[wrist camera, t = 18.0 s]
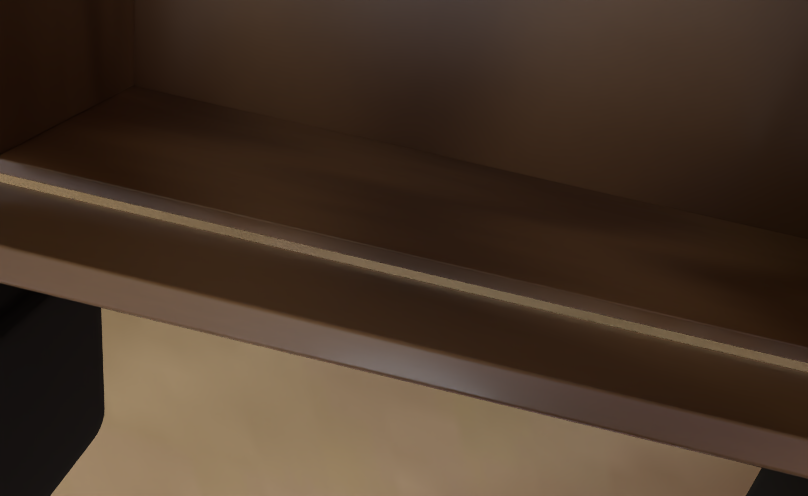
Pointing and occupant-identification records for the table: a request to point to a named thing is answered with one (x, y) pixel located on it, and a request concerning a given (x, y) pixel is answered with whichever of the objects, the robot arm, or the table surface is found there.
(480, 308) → the flap
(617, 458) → the table surface
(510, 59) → the wooden box
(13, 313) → the robot arm
